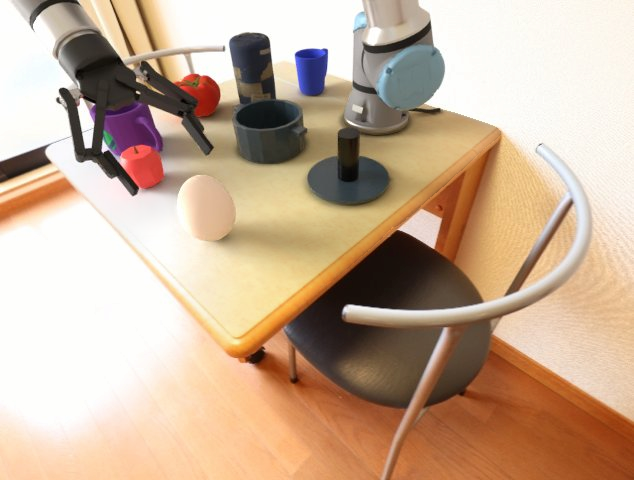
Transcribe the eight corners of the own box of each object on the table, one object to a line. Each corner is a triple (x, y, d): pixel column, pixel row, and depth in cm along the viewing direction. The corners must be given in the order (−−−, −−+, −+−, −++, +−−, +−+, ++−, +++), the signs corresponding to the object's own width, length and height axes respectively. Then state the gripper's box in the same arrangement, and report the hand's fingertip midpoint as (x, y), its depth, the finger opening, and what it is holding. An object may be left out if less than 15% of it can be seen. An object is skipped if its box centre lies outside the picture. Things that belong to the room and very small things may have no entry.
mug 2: (339, 84, 105) (339, 46, 98) (316, 100, 98) (315, 60, 91) (314, 79, 108) (313, 42, 102) (291, 94, 101) (288, 55, 94)
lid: (340, 151, 79) (341, 105, 72) (404, 176, 71) (411, 128, 64) (291, 185, 71) (285, 137, 63) (356, 218, 63) (359, 167, 56)
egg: (225, 211, 66) (209, 155, 58) (250, 236, 61) (237, 179, 53) (180, 233, 62) (156, 177, 54) (203, 262, 57) (181, 204, 49)
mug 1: (99, 151, 83) (77, 109, 76) (141, 130, 89) (125, 89, 82) (146, 174, 75) (127, 129, 68) (189, 150, 82) (175, 106, 75)
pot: (264, 121, 90) (260, 90, 85) (327, 146, 81) (326, 113, 76) (217, 145, 83) (209, 113, 78) (281, 176, 73) (276, 142, 68)
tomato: (186, 131, 88) (175, 95, 82) (165, 114, 95) (154, 79, 89) (236, 113, 94) (229, 78, 88) (213, 98, 101) (205, 65, 95)
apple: (121, 182, 74) (103, 146, 68) (158, 166, 78) (144, 131, 72) (139, 198, 70) (121, 162, 64) (176, 180, 73) (163, 145, 68)
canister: (256, 98, 100) (244, 24, 88) (284, 104, 97) (277, 28, 84) (233, 112, 95) (217, 35, 82) (263, 119, 91) (251, 40, 78)
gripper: (152, 43, 63) (228, 146, 66) (-9, 92, 49) (97, 220, 53) (159, 11, 57) (243, 127, 60) (-22, 58, 43) (99, 204, 47)
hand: (175, 171), depth 57 cm, fingers open, 13 cm apart
